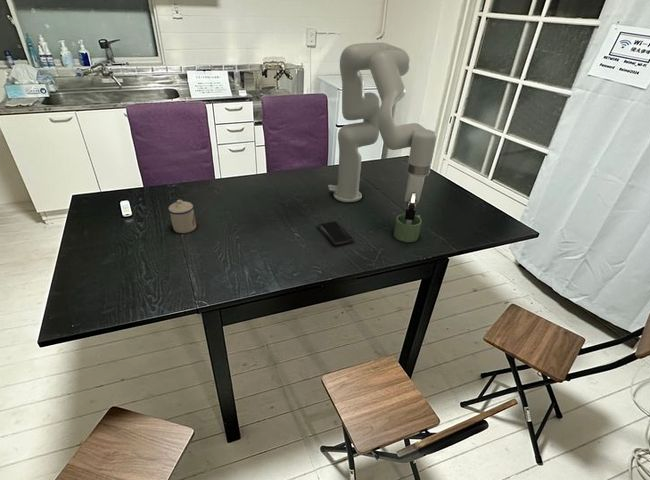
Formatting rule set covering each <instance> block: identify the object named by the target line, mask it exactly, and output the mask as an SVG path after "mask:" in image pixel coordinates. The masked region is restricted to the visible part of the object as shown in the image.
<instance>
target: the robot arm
mask: <svg viewBox="0 0 650 480" xmlns="http://www.w3.org/2000/svg"><path fill="white" fill-rule="evenodd" d="M410 67H411V59H410V56H409V54H408V52H407V51H406V50H405V49H403V48H400V47H398V46H395V45H392V44H389V43H387V42H362V43H360V42H359V43H353V44H350V45H347V46H345V48H343V50H342V52H341V55H340V57H339V71H340V76H341V77H340V78H341V114H342V117H343V118H344V120H346V121H359V120H362V121H361V122H353V123H348V124H345V125H343V126H341V127H340V128H339V130H338V133H337V141H338V172H337V184H335V185H333V184H328V186H327V190H328V191H329V192H333V198H334V199H335V200H337V201H339V202H343V203H356V202H358V201H360V200H361V199H362V196H363V195H362V192H360V191H359V190H360V182H361V181H360V180H361V169H362V155H361V153H360V151H359V149H360V148H362V147H366V146H371V145H374V144H375V143H377V141H378V140H379V137H381V139H382V141H383V143H384V145H385V146H386V148H387V149H389V150H390V151H397V150H402V149H407V148H410V149H409V155H408V160H407V168H406V173H407V174H408V179H407V183H406V189H405V196H404V200H403V201H404V203H406V210H405V213H404V214H405V219H406V220H414V217H415V215H416V212H417V210H416V207H417V204H419V203H420V198H421V195H422V191H423V187H424V183H425V177H427V176H429V175H430V171H431V167H432V162H433V157H434V152H435V147H436V143H437V139H438V138H437V136H438V135H437V133H436V132H435V131H434V130H431V129H426V127H424V126H423V125H421V124H420V123H418V122H412V123H411V122H410V123H405V124H400V125H396V122H395V120H394V117H393V107H394V105H395V104H397V103H398V102H401V100H402V99H403V98H404V97H405V96H406V92H407V91H406V90H407V89H406V87H405V85H404V81H403V79H402V76H405V75H406V74H407V73H408V72H409V70H410ZM361 71H370V74H371V76H372V78H373V81H374V85H375V87H376V90H377V93H378V94H376V93H375V92H369V91H368V92H365V79H364V77H363V75H362V73H361ZM378 95H379V96H378ZM410 200H411V201H410ZM415 201H416V202H415ZM410 203H411V204H410ZM414 204H415V205H414Z"/></svg>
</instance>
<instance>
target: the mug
mask: <svg viewBox="0 0 650 480" xmlns="http://www.w3.org/2000/svg"><path fill="white" fill-rule="evenodd" d="M405 214H406V213H401V214H398V215H397V216H396V218H395V223H394V230H393V237H394V238H395V239H396V240H397V241H400V242H404V243H414V242H417V241H418V240H419V238H420V237H419V236H420V233H421V228H422V225H423V224H422V222H423V220H422V217H421V215H420V214H419V215H416V214H415V217H414V220H412V223H411V225H407V224H406V219H405Z"/></svg>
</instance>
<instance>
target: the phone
mask: <svg viewBox="0 0 650 480" xmlns="http://www.w3.org/2000/svg"><path fill="white" fill-rule="evenodd" d="M318 228H319V230H320V231H321V233H322V234H323V235H324V236H325V237H326V239H327V240H328V241H329V242H330V244H331V245H332V246H335V247H337V246H338V247H339V246H342V245H347V244H352V242H353V238H352V236H351V235H350V234H349V233H348V232H347V231H346V230H345V228H343V227H342V226H341V224H340V223H339V222H338V221H336V220H333V221H329V222H328V221H327V222H323V223H319V224H318Z"/></svg>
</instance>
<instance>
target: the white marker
mask: <svg viewBox="0 0 650 480" xmlns="http://www.w3.org/2000/svg"><path fill="white" fill-rule="evenodd" d="M410 201H411V200H410ZM415 202H416V201H415ZM410 204H411V203H410ZM414 205H415V204H414ZM411 223H412V220H406V224H407V225H411Z"/></svg>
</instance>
